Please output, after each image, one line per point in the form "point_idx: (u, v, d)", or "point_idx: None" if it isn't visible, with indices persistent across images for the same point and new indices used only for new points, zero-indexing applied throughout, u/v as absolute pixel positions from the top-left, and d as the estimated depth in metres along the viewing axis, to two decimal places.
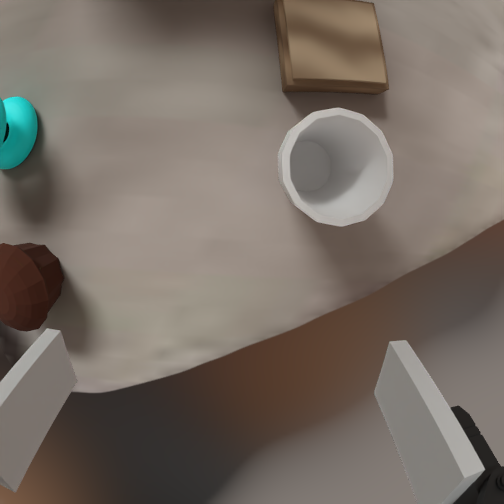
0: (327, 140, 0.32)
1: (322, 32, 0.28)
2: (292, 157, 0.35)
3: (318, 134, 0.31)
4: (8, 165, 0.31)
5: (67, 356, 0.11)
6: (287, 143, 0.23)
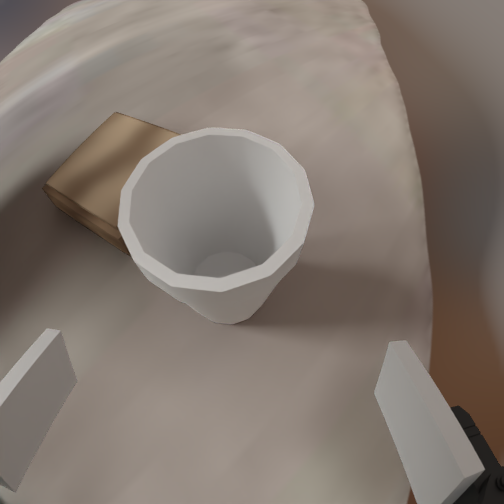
0: (206, 234, 0.24)
1: (100, 169, 0.27)
2: None
3: (188, 237, 0.23)
4: None
5: (67, 356, 0.11)
6: (128, 245, 0.14)
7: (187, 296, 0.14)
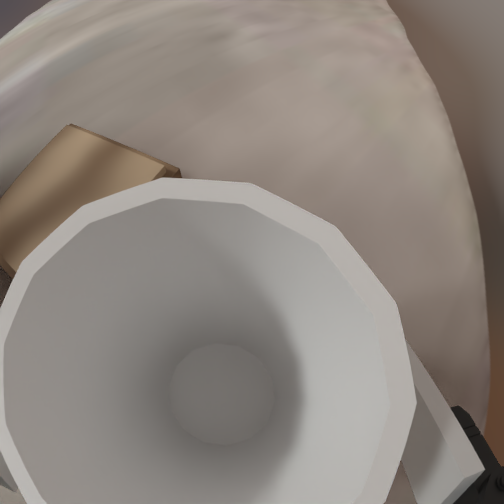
0: (185, 333, 0.15)
1: (38, 213, 0.17)
2: (189, 408, 0.16)
3: (156, 345, 0.13)
4: None
5: None
6: (13, 473, 0.04)
7: None
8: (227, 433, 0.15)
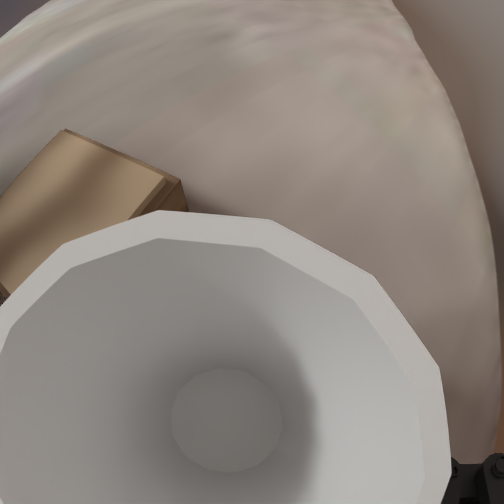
0: (188, 362, 0.13)
1: (30, 227, 0.16)
2: (193, 435, 0.15)
3: (156, 376, 0.12)
4: None
5: None
6: None
7: None
8: (232, 461, 0.14)
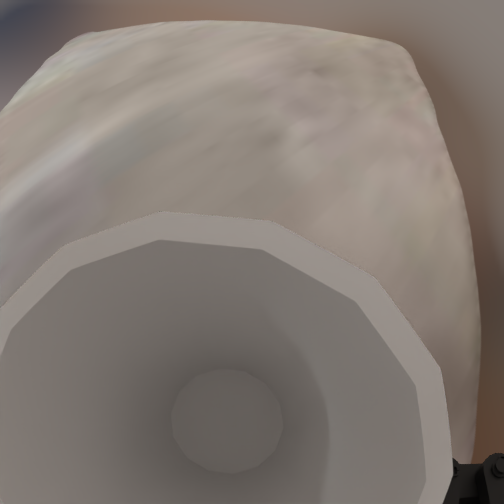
0: (188, 363, 0.13)
1: None
2: (193, 436, 0.15)
3: (157, 377, 0.12)
4: None
5: None
6: None
7: None
8: (233, 462, 0.14)
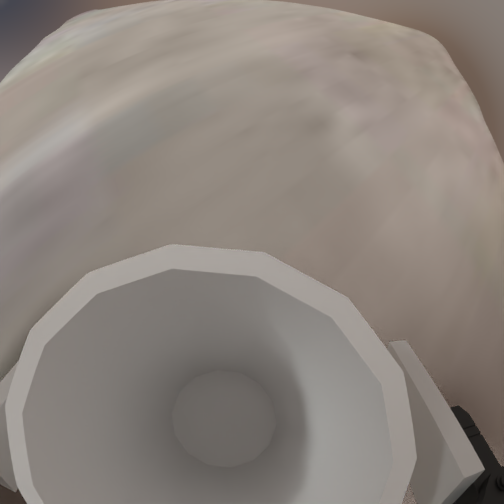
0: (189, 365, 0.15)
1: None
2: (193, 433, 0.16)
3: (161, 379, 0.13)
4: None
5: None
6: None
7: None
8: (231, 456, 0.15)
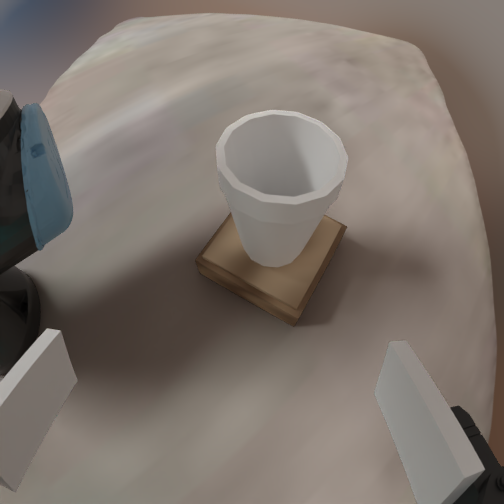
0: None
1: None
2: None
3: None
4: None
5: (67, 356, 0.11)
6: (227, 178, 0.21)
7: (269, 212, 0.21)
8: None
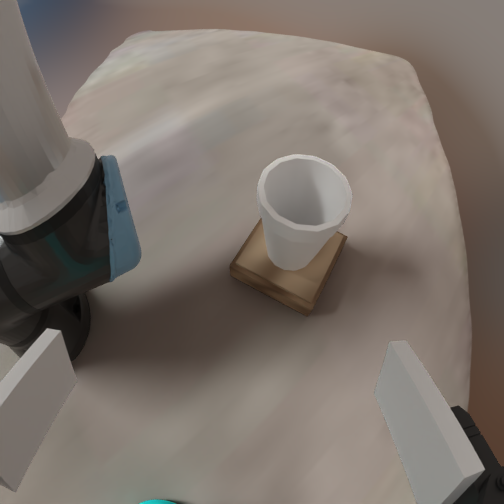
0: (280, 214, 0.40)
1: None
2: None
3: None
4: None
5: (67, 356, 0.11)
6: (269, 211, 0.30)
7: (298, 236, 0.30)
8: None
